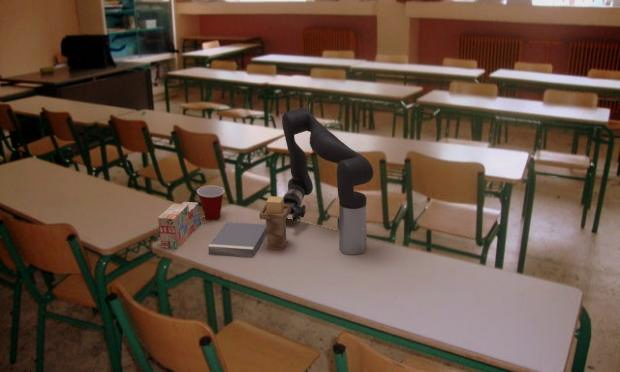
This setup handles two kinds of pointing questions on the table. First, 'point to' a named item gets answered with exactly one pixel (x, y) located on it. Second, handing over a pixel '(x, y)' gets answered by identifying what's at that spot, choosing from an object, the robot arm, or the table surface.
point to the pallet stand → (276, 227)
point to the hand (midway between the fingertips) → (282, 218)
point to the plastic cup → (211, 201)
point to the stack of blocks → (178, 223)
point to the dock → (238, 239)
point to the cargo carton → (275, 205)
